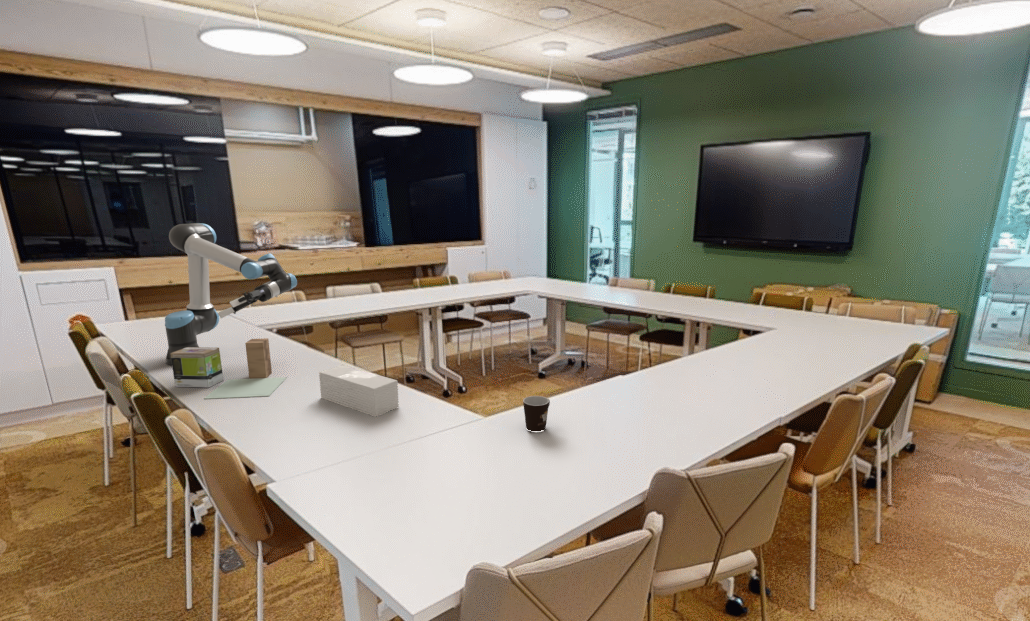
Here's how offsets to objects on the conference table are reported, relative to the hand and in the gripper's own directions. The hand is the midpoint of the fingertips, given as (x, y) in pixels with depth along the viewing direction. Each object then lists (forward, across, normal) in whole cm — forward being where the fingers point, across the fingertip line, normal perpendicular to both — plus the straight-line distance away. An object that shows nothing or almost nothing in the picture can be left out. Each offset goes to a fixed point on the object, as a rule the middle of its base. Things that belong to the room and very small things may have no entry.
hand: (225, 310), depth 226 cm
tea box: (+22, +10, -22) cm, 33 cm away
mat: (+16, -9, -34) cm, 38 cm away
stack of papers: (+6, -53, -61) cm, 81 cm away
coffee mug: (-6, -114, -97) cm, 149 cm away
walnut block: (+4, 0, -32) cm, 32 cm away
